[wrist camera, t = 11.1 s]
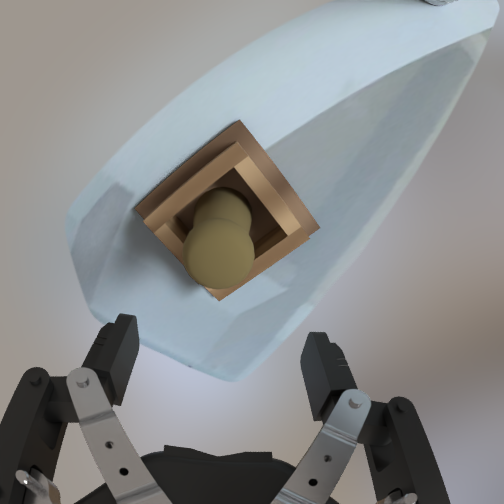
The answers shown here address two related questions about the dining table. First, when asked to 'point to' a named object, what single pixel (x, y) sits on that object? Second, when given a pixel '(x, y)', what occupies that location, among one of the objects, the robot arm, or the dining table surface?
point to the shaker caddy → (243, 180)
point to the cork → (220, 239)
